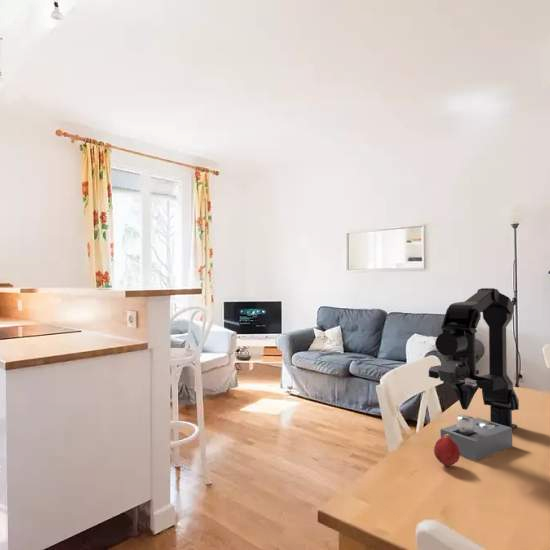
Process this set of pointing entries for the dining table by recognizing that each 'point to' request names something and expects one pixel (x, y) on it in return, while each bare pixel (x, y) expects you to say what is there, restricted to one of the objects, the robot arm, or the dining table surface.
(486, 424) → the peg
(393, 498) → the dining table surface
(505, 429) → the socket block
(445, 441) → the onion
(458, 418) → the peg
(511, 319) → the robot arm
